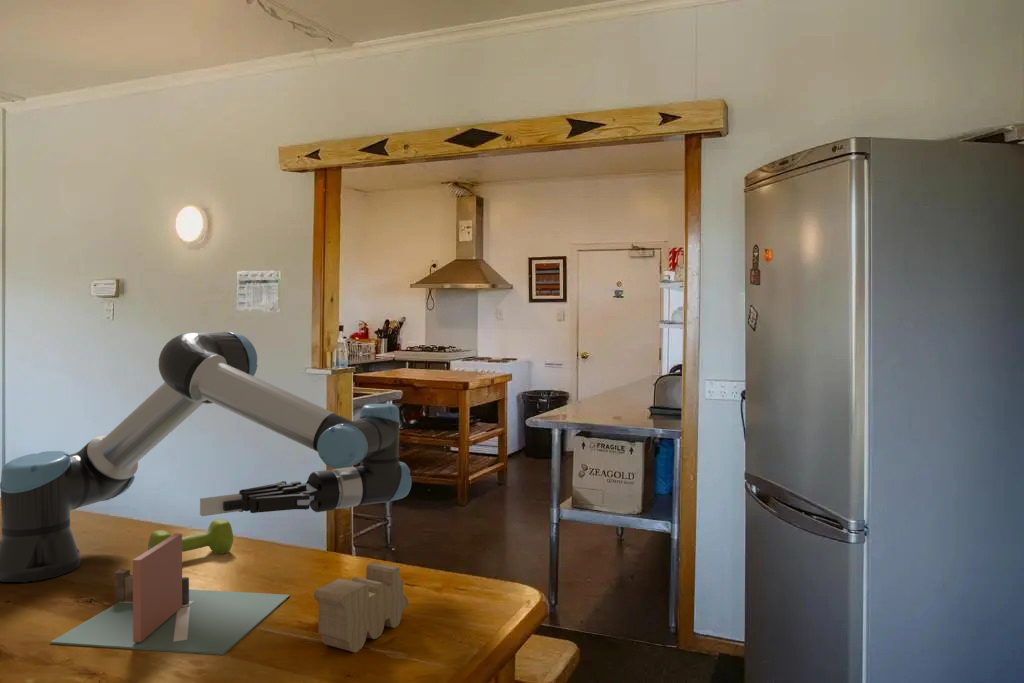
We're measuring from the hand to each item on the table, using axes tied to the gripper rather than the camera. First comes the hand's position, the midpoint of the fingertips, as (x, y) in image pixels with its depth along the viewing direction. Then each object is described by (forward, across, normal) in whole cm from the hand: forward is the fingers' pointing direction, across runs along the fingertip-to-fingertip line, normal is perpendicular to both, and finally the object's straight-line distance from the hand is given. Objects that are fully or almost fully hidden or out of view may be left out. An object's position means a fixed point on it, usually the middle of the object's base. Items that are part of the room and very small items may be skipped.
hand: (201, 507), depth 119 cm
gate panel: (+6, +2, -19) cm, 20 cm away
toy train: (-20, -21, -19) cm, 35 cm away
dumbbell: (-7, +36, -20) cm, 42 cm away
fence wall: (+5, +14, -20) cm, 25 cm away
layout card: (+2, +4, -20) cm, 20 cm away
